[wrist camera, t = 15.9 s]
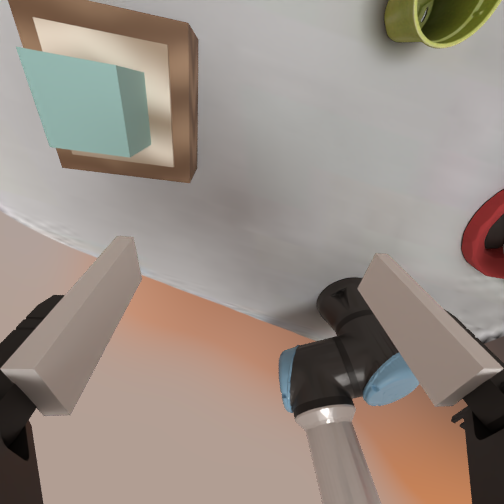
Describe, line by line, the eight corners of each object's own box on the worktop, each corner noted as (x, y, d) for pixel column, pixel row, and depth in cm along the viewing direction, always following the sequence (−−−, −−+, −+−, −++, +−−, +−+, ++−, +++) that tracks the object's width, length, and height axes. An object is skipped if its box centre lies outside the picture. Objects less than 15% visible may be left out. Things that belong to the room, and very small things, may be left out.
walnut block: (197, 167, 37) (189, 184, 30) (93, 154, 35) (59, 168, 28) (198, 39, 28) (187, 21, 21) (59, 9, 26) (-4, -22, 19)
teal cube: (151, 144, 27) (130, 157, 22) (89, 135, 26) (50, 147, 21) (144, 72, 23) (115, 65, 18) (70, 58, 22) (15, 46, 17)
